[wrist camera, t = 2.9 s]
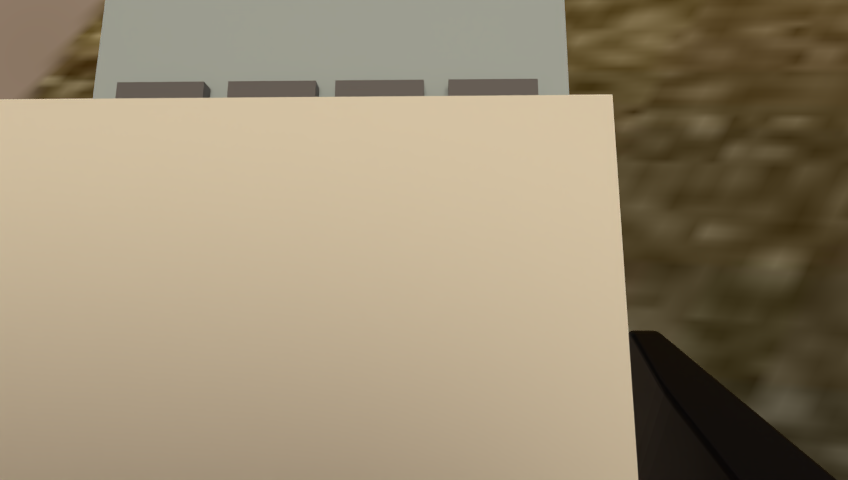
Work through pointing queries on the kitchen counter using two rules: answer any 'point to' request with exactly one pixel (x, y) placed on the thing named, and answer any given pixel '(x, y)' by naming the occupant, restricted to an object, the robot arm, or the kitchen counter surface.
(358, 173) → the beige upright block
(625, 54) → the kitchen counter surface
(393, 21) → the ticket block
